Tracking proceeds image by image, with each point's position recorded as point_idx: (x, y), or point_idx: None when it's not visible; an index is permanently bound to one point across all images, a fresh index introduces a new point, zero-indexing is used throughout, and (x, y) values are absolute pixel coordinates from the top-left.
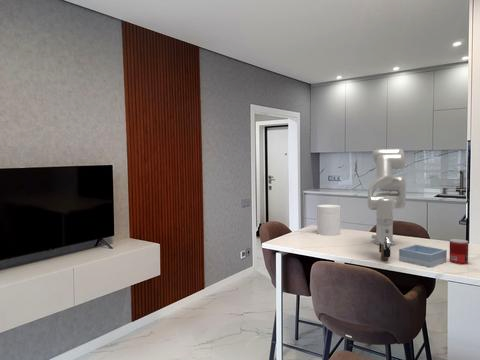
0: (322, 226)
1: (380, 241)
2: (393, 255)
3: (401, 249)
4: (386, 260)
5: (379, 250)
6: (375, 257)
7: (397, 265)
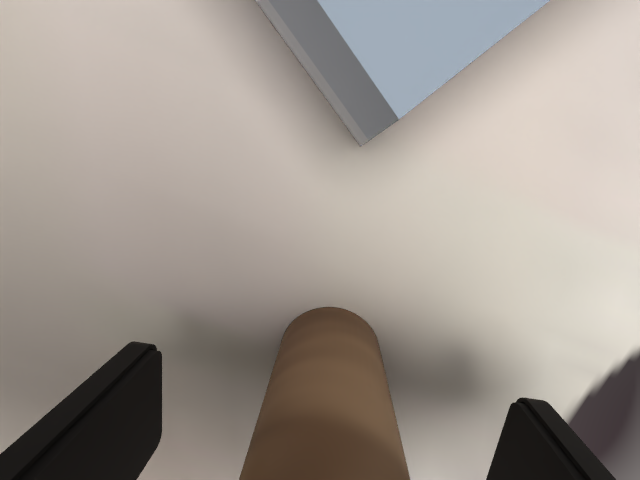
0: None
1: None
2: (34, 115)
3: (499, 37)
4: (379, 349)
5: (134, 472)
6: (192, 415)
7: (636, 283)
